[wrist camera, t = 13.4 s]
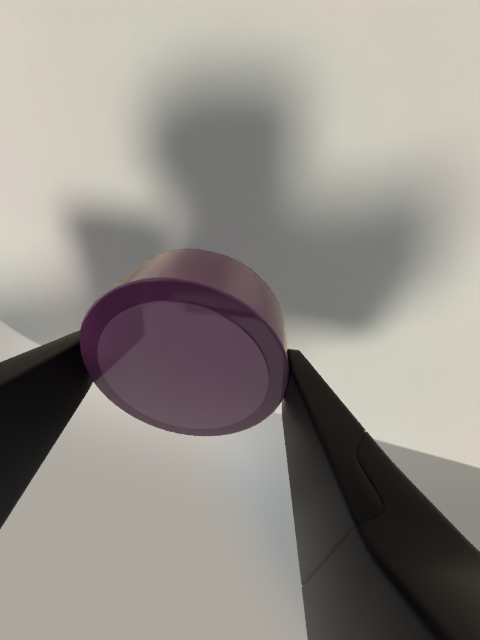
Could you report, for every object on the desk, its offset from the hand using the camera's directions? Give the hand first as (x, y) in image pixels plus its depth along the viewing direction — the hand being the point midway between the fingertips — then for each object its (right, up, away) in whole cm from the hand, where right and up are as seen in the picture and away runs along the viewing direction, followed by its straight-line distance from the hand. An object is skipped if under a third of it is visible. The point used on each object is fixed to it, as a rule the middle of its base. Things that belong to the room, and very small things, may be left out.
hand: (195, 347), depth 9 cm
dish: (0, +1, +1) cm, 1 cm away
